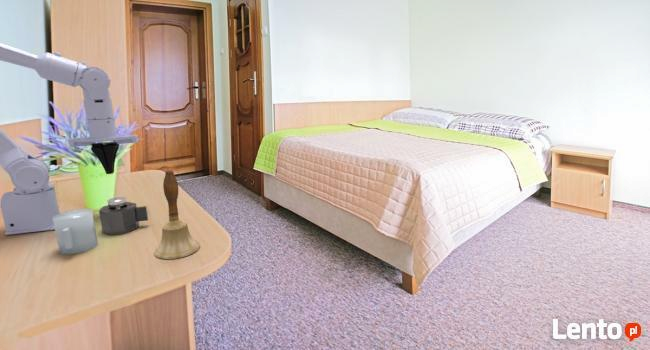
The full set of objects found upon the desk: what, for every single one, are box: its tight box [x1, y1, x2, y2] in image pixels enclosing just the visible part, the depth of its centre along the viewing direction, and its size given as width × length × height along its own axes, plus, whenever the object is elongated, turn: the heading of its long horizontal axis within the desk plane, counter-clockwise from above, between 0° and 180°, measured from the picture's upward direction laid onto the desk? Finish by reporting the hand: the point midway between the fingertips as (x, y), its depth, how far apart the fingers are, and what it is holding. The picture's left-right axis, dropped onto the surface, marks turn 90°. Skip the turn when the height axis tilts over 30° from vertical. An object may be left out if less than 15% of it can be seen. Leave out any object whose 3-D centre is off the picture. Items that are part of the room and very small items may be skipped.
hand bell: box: [154, 169, 201, 260], centre depth 67 cm, size 8×8×16 cm
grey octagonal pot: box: [98, 201, 149, 236], centre depth 79 cm, size 9×7×5 cm
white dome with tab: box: [52, 208, 99, 256], centre depth 68 cm, size 6×8×7 cm
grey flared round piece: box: [107, 196, 128, 209], centre depth 78 cm, size 4×4×6 cm
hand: (110, 173), depth 88 cm, fingers closed
